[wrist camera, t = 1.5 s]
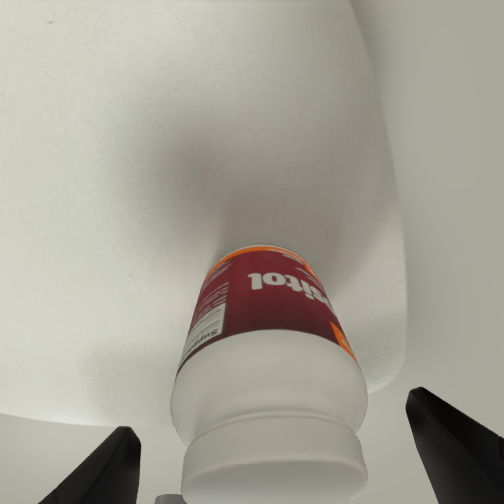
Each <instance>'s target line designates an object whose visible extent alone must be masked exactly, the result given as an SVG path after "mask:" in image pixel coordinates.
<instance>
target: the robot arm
mask: <svg viewBox="0 0 504 504" xmlns="http://www.w3.org/2000/svg"><path fill="white" fill-rule="evenodd" d="M406 413H407V417H408V420H409V423H410V427H411V430H412V433H413V437H414V440H415V444H416V447H417V450H418V453H419V455H420V458H421V460H422V462H423V465H424V467H425V470H426V472H427V475H428V477H429V480H430V482H431V485H432V487H433V489H434V492H435V495H436V498H437V500H438V503H439V504H504V438H502V437H501V436H499V437H498V435H497V434H496V433H494V432H493V431H491V430H489V429H488V428H486V427H484V426H483V425H481V424H480V423H478V422H477V421H475V420H474V419H472V418H470V417H468V416H467V415H466V414H464V413H462V412H461V411H459V410H458V409H456V408H455V407H453V406H451V405H450V404H448V403H447V402H445V401H443V400H442V399H440V398H439V397H437V396H436V395H434V394H433V393H431V392H429V391H428V390H427V389H425V388H423V387H418V388H415V389H412V390H410V392H409V395H408V399H407V403H406ZM140 457H141V442H140V440H139V438H138V437H137V436H136V434H135V433H134V431H133V430H132V428H131V427H128V426H119V427H117V428H116V429H115V430H114V431H113V432H112V433H111V434H110V435H109V436H108V438H106V439H105V440H104V441H103V442H102V443H101V444H100V445H99V446H98V447H97V448H96V449H95V450H94V451H93V452H92V453H91V454H90V455H89V456H88V457H87V458H86V459H85V460H84V461H83V462H82V463H81V464H80V465H79V466H78V467H77V468H76V469H75V470H74V471H73V472H72V473H71V474H70V475H69V476H68V477H67V478H65V479H64V480H63V481H62V482H61V483H60V484H59V485H58V486H57V488H56V489H54V490H53V491H52V492H51V493H50V494H49V495H47V496H46V497H45V498H44V499H43V500H42V501H41V502H39V503H38V504H136V499H137V494H138V487H139V477H140Z"/></svg>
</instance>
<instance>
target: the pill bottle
mask: <svg viewBox="0 0 504 504" xmlns="http://www.w3.org/2000/svg"><path fill="white" fill-rule="evenodd" d="M367 399H368V397H367V388H366V384H365V381H364V378H363V375H362V373H361V370H360V368H359V365H358V363H357V361H356V359H355V357H354V354H353V352H352V350H351V348H350V346H349V343H348V341H347V339H346V337H345V334H344V332H343V330H342V328H341V326H340V323H339V321H338V319H337V317H336V315H335V313H334V311H333V309H332V306H331V304H330V302H329V300H328V298H327V296H326V294H325V291H324V289H323V287H322V285H321V283H320V280H319V279H318V277H317V275H316V273H315V272H314V270H313V269H312V267H311V266H310V265H309V264H308V263H307V262H306V261H305V260H304V259H303V258H302V257H300V256H299V255H297V254H296V253H294V252H292V251H290V250H288V249H285V248H282V247H278V246H274V245H265V244H260V245H250V246H246V247H242V248H239V249H236V250H234V251H232V252H230V253H228V254H227V255H225V256H224V257H223V258H221V259H220V260H219V261H218V262H217V263H216V264H215V265H214V266H213V267H212V268H211V270H210V271H209V273H208V274H207V276H206V278H205V280H204V282H203V285H202V287H201V290H200V294H199V297H198V301H197V304H196V308H195V311H194V314H193V318H192V322H191V325H190V329H189V332H188V336H187V339H186V343H185V346H184V350H183V354H182V357H181V361H180V364H179V368H178V371H177V375H176V379H175V383H174V388H173V391H172V396H171V416H172V420H173V424H174V426H175V429H176V431H177V433H178V435H179V436H180V438H181V439H182V441H183V442H184V443H185V444H186V445H187V447H188V450H187V451H186V454H185V457H184V464H183V473H182V483H181V493H182V497H183V499H184V501H185V502H186V503H187V504H347V503H349V502H350V501H351V500H353V499H354V498H355V497H357V496H358V495H359V494H360V493H361V492H362V490H363V489H364V488H365V486H366V484H367V479H368V474H367V469H366V465H365V462H364V458H363V453H362V449H361V444H360V441H359V439H358V437H357V436H356V435H355V434H356V432H357V431H358V429H359V428H360V426H361V424H362V422H363V419H364V417H365V413H366V409H367Z"/></svg>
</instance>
